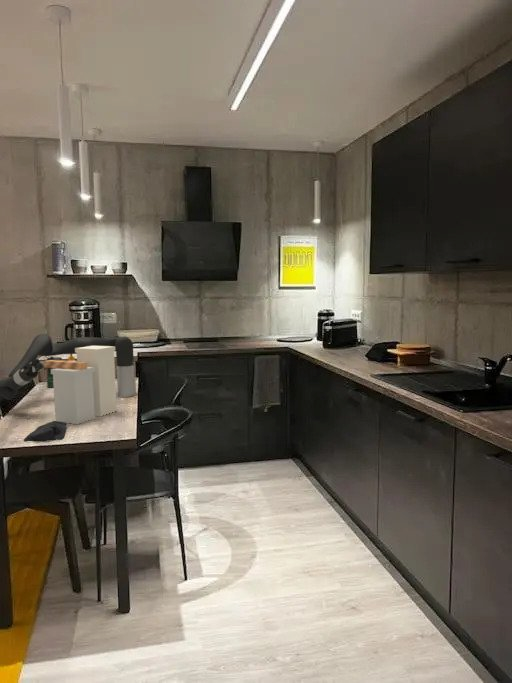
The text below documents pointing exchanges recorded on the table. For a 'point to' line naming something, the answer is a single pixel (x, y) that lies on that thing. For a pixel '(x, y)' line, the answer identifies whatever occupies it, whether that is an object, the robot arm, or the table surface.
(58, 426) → the dark slate chunk
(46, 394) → the table surface
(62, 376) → the block
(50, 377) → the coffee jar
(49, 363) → the board
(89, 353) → the stand
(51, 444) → the table surface
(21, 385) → the robot arm
